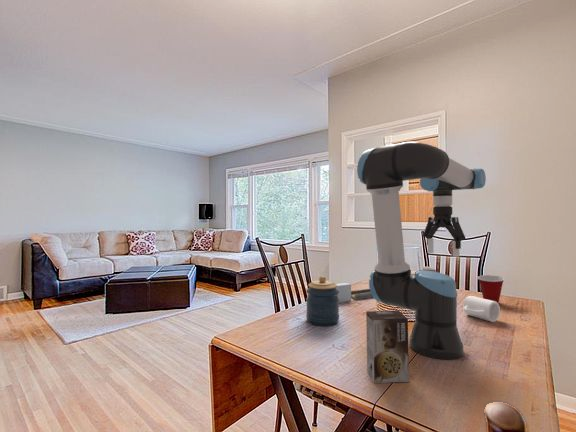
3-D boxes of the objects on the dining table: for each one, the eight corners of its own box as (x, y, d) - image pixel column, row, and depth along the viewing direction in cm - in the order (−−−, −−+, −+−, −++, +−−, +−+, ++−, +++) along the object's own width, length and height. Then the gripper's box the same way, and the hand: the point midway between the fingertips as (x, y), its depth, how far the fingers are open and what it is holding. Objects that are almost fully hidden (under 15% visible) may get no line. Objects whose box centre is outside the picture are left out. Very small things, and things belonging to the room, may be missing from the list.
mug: (475, 313, 128) (475, 294, 128) (500, 320, 119) (500, 300, 119) (456, 317, 123) (456, 298, 123) (481, 325, 114) (481, 304, 114)
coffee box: (399, 369, 82) (399, 310, 82) (409, 382, 76) (409, 318, 75) (365, 370, 82) (365, 310, 82) (373, 383, 75) (373, 318, 75)
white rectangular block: (335, 302, 145) (335, 286, 145) (331, 300, 148) (331, 284, 148) (351, 300, 148) (351, 284, 148) (347, 298, 151) (346, 282, 151)
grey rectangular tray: (355, 300, 149) (355, 294, 149) (346, 296, 156) (346, 291, 156) (382, 296, 155) (382, 291, 155) (372, 292, 163) (372, 288, 163)
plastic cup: (471, 300, 147) (471, 275, 147) (488, 298, 150) (488, 274, 150) (493, 306, 137) (492, 280, 137) (510, 304, 140) (510, 278, 140)
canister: (324, 313, 129) (324, 271, 129) (346, 322, 118) (346, 277, 118) (299, 319, 122) (299, 275, 122) (320, 329, 111) (319, 281, 111)
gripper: (475, 205, 122) (475, 257, 122) (427, 206, 146) (427, 251, 146) (461, 205, 120) (461, 258, 120) (414, 206, 143) (414, 251, 143)
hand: (442, 254), depth 133 cm, fingers open, 13 cm apart
